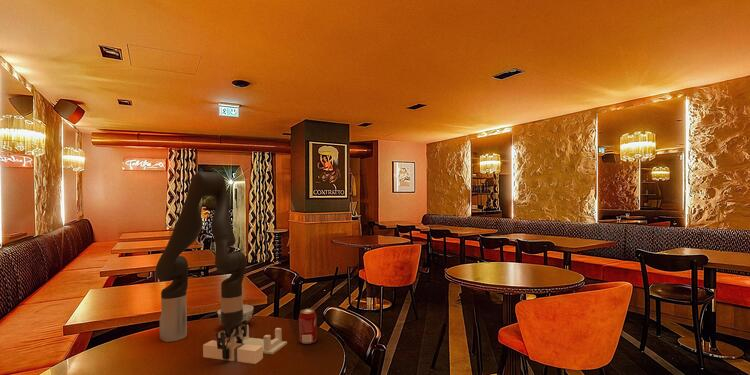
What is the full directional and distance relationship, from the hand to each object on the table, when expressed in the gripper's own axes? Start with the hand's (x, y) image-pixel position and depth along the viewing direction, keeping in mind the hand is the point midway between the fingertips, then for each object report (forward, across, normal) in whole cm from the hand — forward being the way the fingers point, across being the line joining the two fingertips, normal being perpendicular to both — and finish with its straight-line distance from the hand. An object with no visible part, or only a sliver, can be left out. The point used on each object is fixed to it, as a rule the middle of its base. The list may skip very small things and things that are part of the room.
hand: (232, 354), depth 135 cm
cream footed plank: (+1, -11, +2) cm, 11 cm away
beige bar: (+1, 0, 0) cm, 1 cm away
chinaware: (+1, -27, -20) cm, 33 cm away
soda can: (+1, -20, +20) cm, 28 cm away
